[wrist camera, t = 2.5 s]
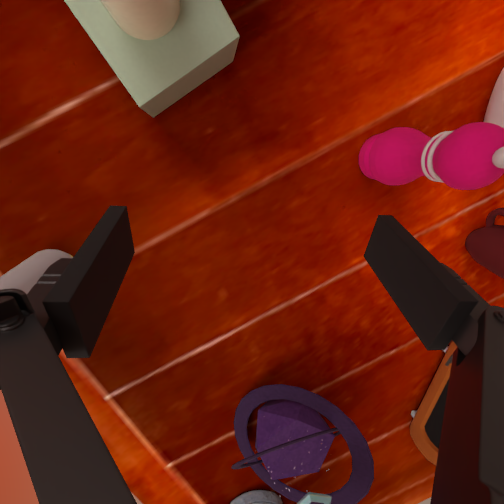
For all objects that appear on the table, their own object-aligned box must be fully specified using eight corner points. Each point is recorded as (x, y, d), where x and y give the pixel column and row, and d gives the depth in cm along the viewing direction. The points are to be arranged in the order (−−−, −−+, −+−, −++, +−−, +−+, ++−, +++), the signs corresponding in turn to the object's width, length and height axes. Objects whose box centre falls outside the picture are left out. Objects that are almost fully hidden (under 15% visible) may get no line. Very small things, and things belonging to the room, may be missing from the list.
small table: (70, -2, 32) (28, -51, 24) (160, -69, 31) (145, -141, 24) (153, 117, 37) (139, 107, 29) (233, 61, 36) (240, 36, 28)
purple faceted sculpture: (228, 358, 49) (247, 545, 26) (346, 353, 52) (459, 514, 29) (224, 458, 56) (236, 677, 32) (328, 447, 59) (409, 640, 36)
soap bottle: (24, 249, 39) (-115, 319, 22) (79, 243, 40) (-16, 306, 23) (40, 295, 41) (-75, 391, 25) (92, 288, 42) (14, 376, 25)
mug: (446, 217, 47) (506, 232, 37) (491, 194, 47) (563, 203, 37) (458, 271, 50) (516, 297, 41) (501, 250, 50) (568, 271, 41)
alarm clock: (448, 328, 54) (547, 399, 38) (487, 334, 56) (596, 404, 40) (400, 427, 60) (468, 522, 44) (437, 429, 62) (514, 522, 46)
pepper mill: (398, 123, 41) (559, 94, 22) (404, 173, 44) (555, 186, 25) (350, 139, 41) (472, 124, 22) (359, 189, 43) (476, 214, 24)
